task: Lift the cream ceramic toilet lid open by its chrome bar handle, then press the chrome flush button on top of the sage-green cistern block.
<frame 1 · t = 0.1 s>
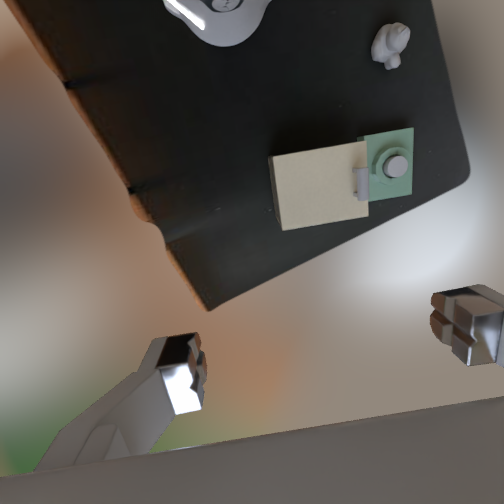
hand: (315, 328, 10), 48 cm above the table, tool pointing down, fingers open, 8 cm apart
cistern: (380, 165, 55), on the table
beige box: (308, 183, 55), on the table
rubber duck: (381, 53, 49), on the table
flush button: (395, 166, 49), point 5 cm above the table, slide at 0.1 cm
toilet lid: (325, 188, 45), point 10 cm above the table, hinge at 0.0°
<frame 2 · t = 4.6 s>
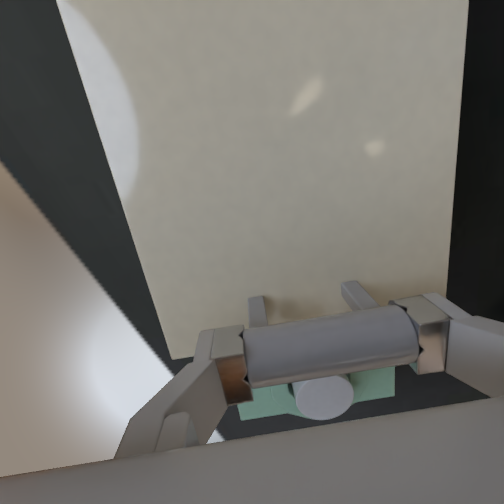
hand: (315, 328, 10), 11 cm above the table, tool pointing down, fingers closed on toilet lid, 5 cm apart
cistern: (302, 334, 23), on the table
flush button: (321, 387, 18), point 5 cm above the table, slide at 0.1 cm
toilet lid: (295, 164, 8), point 10 cm above the table, hinge at 0.0°, touching gripper
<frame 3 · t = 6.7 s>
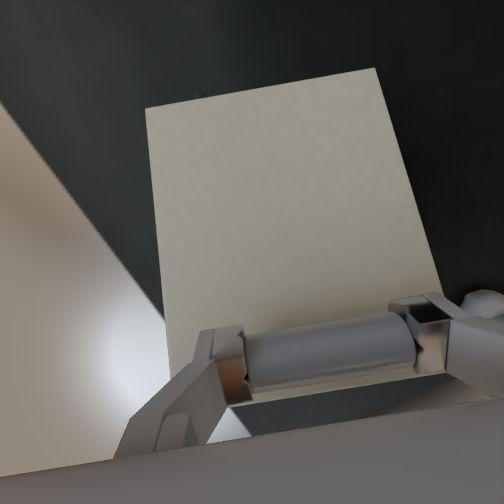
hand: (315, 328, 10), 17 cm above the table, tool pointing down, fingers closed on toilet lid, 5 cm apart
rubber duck: (464, 304, 30), on the table
toilet lid: (288, 210, 12), point 14 cm above the table, hinge at 31.4°, touching gripper
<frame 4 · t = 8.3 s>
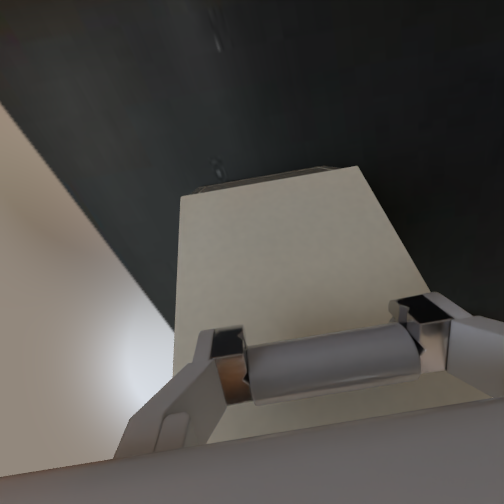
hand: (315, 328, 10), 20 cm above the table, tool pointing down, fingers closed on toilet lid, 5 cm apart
beige box: (271, 245, 30), on the table
toilet lid: (291, 254, 13), point 16 cm above the table, hinge at 56.2°, touching gripper
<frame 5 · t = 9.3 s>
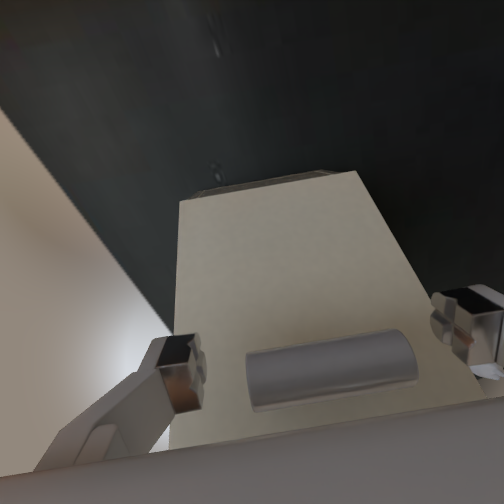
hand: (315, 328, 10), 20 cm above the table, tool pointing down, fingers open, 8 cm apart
beige box: (270, 248, 30), on the table
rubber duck: (443, 332, 35), on the table
toilet lid: (290, 259, 13), point 16 cm above the table, hinge at 56.4°
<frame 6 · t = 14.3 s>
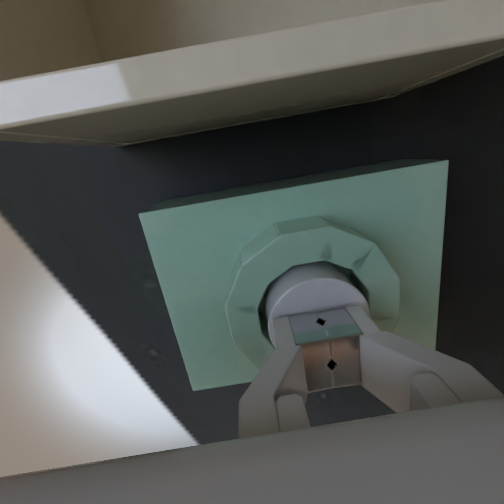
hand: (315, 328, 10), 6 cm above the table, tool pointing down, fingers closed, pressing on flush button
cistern: (291, 263, 15), on the table
flush button: (313, 312, 10), point 5 cm above the table, slide at -0.5 cm, touching gripper
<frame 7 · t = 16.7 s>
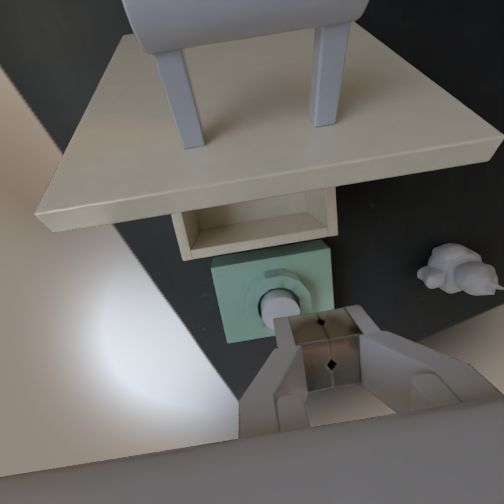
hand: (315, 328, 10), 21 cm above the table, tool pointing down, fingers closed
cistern: (272, 285, 32), on the table
beige box: (242, 154, 27), on the table
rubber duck: (433, 261, 32), on the table
flush button: (279, 309, 27), point 5 cm above the table, slide at 0.1 cm
toilet lid: (233, 15, 11), point 16 cm above the table, hinge at 56.4°
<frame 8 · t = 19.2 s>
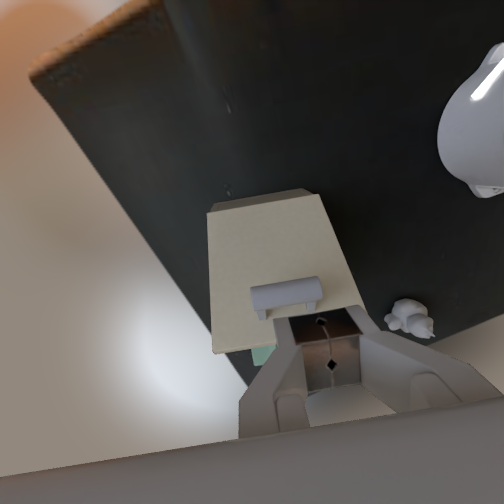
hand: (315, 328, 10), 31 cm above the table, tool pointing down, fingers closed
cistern: (284, 325, 46), on the table
beige box: (265, 244, 41), on the table
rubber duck: (397, 308, 46), on the table
toilet lid: (273, 247, 25), point 16 cm above the table, hinge at 56.4°
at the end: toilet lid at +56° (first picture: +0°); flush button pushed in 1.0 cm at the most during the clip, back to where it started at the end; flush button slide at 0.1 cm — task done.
